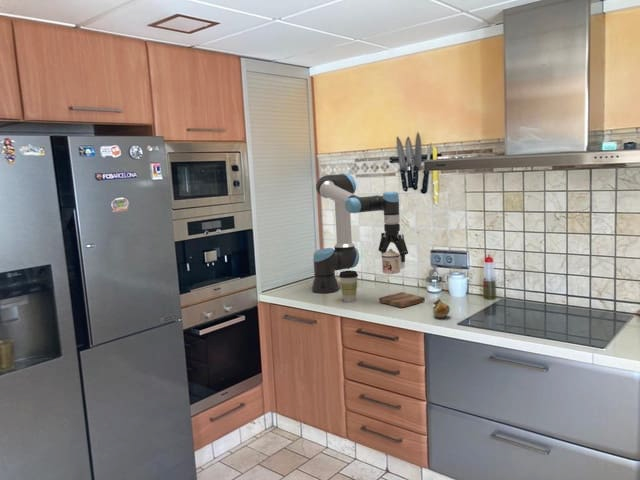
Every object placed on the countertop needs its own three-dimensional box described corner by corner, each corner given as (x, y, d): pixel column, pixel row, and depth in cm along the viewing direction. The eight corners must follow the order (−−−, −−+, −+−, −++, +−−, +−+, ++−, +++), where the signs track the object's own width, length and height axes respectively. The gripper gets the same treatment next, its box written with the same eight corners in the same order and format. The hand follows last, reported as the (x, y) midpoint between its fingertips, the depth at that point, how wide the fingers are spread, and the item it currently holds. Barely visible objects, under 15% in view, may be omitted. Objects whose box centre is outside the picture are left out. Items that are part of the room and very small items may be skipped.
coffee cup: (344, 304, 267) (343, 275, 265) (337, 299, 276) (335, 271, 274) (362, 301, 270) (361, 272, 268) (354, 297, 279) (352, 269, 277)
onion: (431, 319, 233) (431, 302, 232) (433, 314, 241) (432, 297, 239) (449, 320, 231) (449, 302, 230) (450, 315, 239) (449, 297, 237)
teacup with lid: (378, 272, 262) (377, 249, 261) (391, 269, 268) (390, 247, 266) (395, 275, 253) (394, 251, 251) (408, 272, 258) (408, 249, 257)
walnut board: (379, 302, 266) (379, 297, 266) (402, 296, 275) (401, 292, 275) (401, 308, 253) (401, 303, 253) (424, 302, 262) (424, 297, 262)
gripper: (370, 222, 265) (372, 265, 268) (403, 225, 245) (404, 271, 248) (381, 221, 269) (383, 263, 272) (414, 224, 249) (416, 268, 252)
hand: (393, 266), depth 260 cm, fingers closed on teacup with lid, 12 cm apart
